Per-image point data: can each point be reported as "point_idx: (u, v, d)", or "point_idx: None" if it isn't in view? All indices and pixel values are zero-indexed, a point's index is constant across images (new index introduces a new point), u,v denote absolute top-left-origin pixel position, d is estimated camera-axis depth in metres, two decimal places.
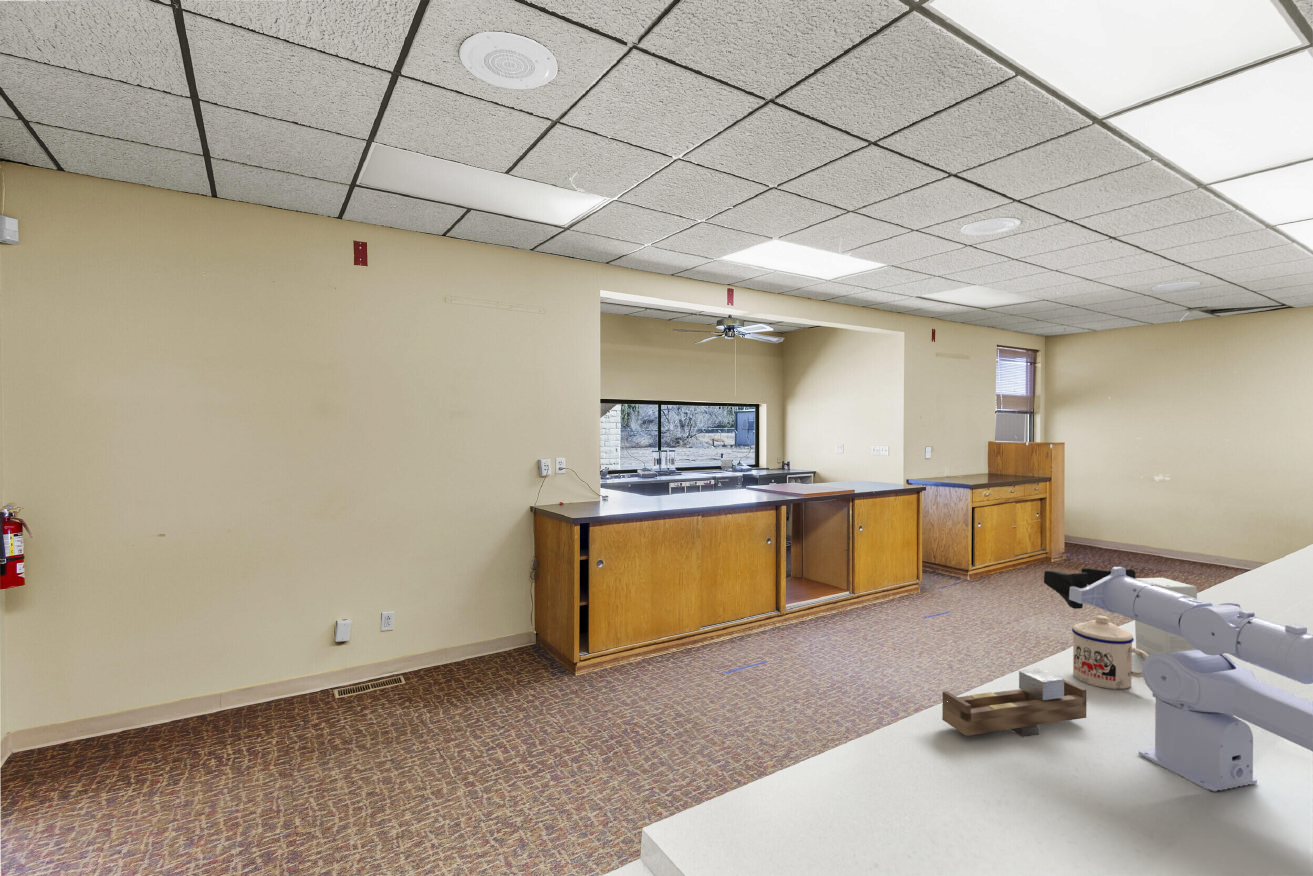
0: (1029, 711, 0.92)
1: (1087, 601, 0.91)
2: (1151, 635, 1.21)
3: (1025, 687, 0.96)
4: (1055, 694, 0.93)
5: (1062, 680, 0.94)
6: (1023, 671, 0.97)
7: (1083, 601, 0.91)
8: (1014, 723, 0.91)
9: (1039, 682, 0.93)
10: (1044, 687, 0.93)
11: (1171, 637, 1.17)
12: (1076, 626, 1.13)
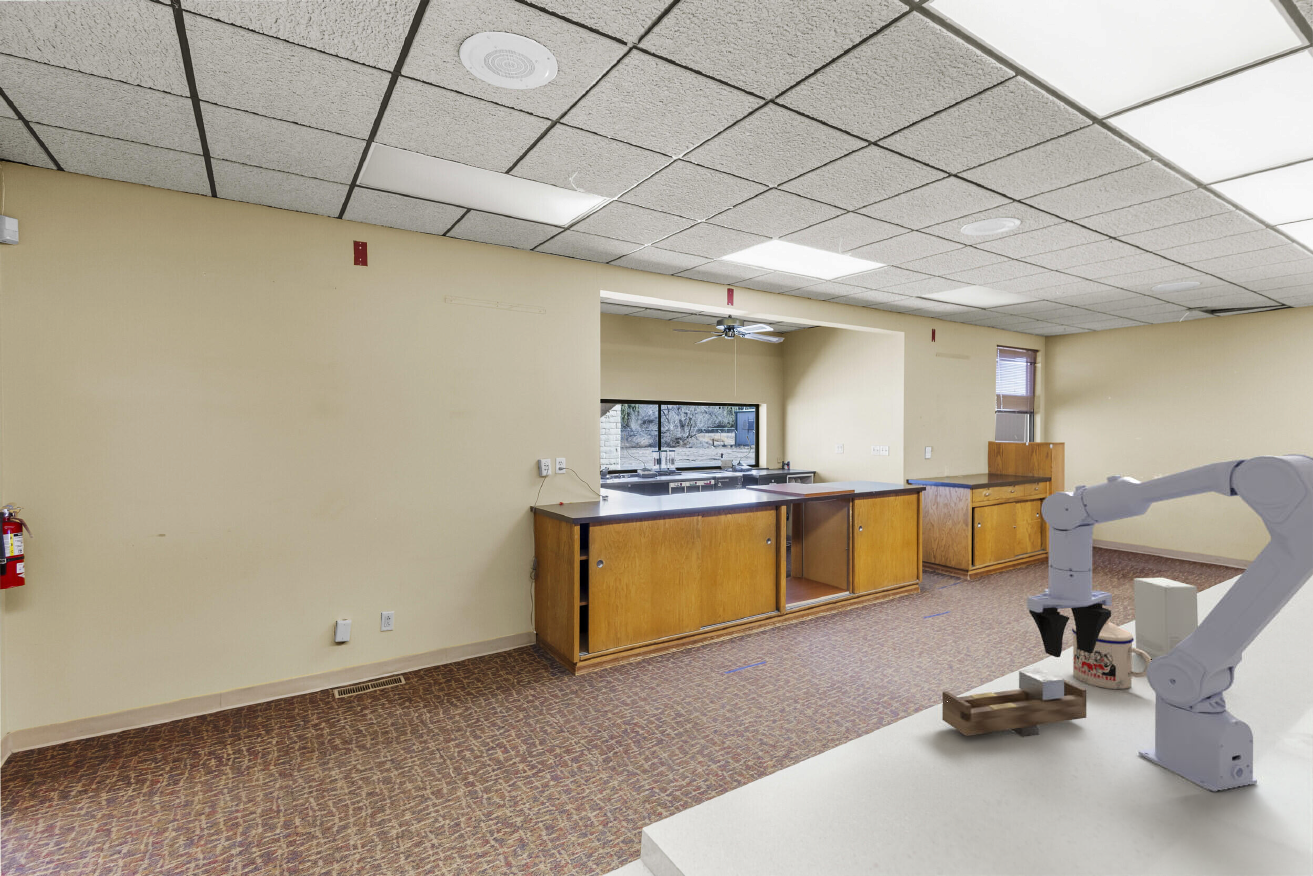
0: (1029, 711, 0.92)
1: None
2: (1151, 635, 1.21)
3: (1025, 687, 0.96)
4: (1055, 694, 0.93)
5: (1062, 680, 0.94)
6: (1023, 671, 0.97)
7: None
8: (1014, 723, 0.91)
9: (1039, 682, 0.93)
10: (1044, 687, 0.93)
11: (1171, 637, 1.17)
12: None
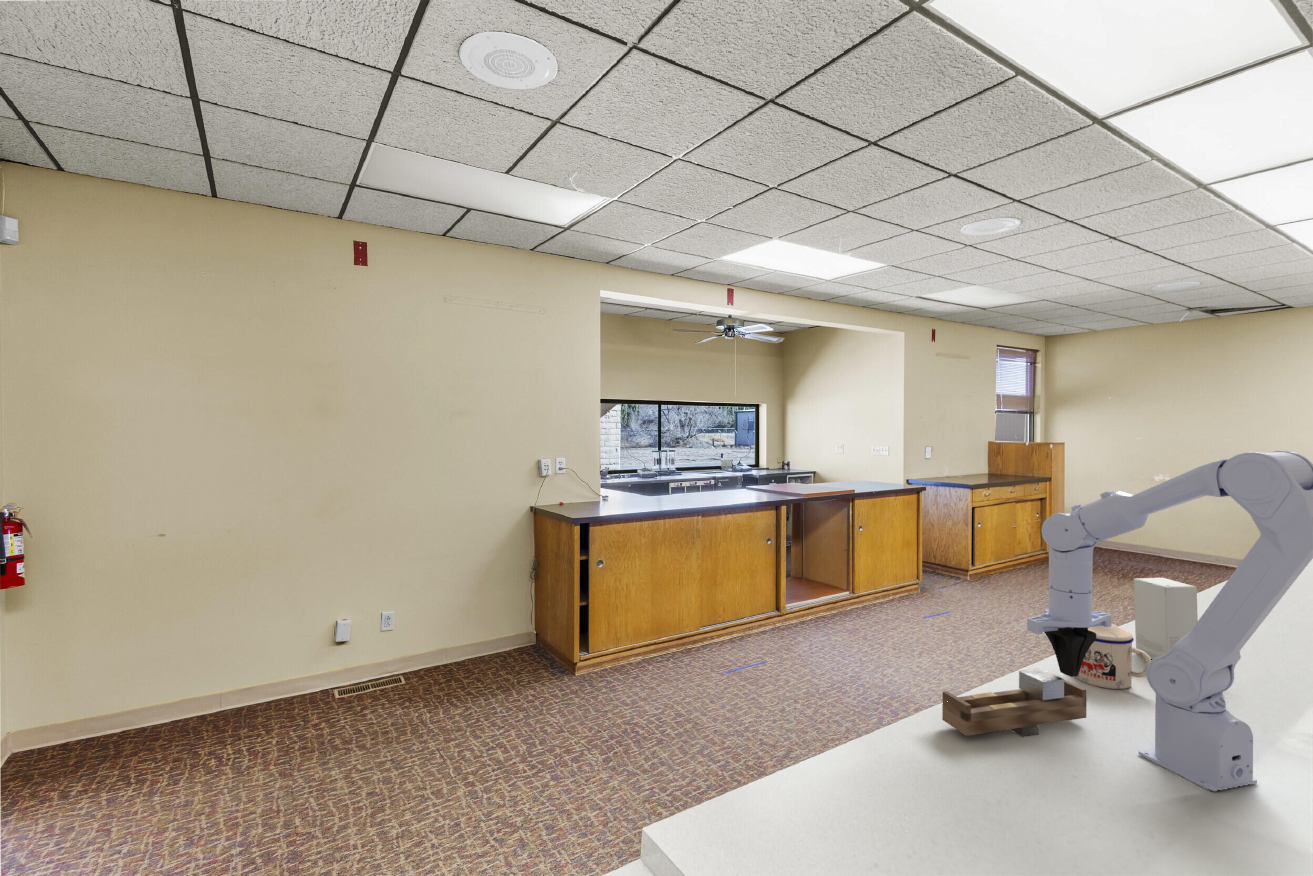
0: (1029, 711, 0.92)
1: None
2: (1151, 635, 1.21)
3: (1025, 687, 0.96)
4: (1055, 694, 0.93)
5: (1062, 680, 0.94)
6: (1023, 671, 0.97)
7: None
8: (1014, 723, 0.91)
9: (1039, 682, 0.93)
10: (1044, 687, 0.93)
11: (1170, 637, 1.17)
12: None
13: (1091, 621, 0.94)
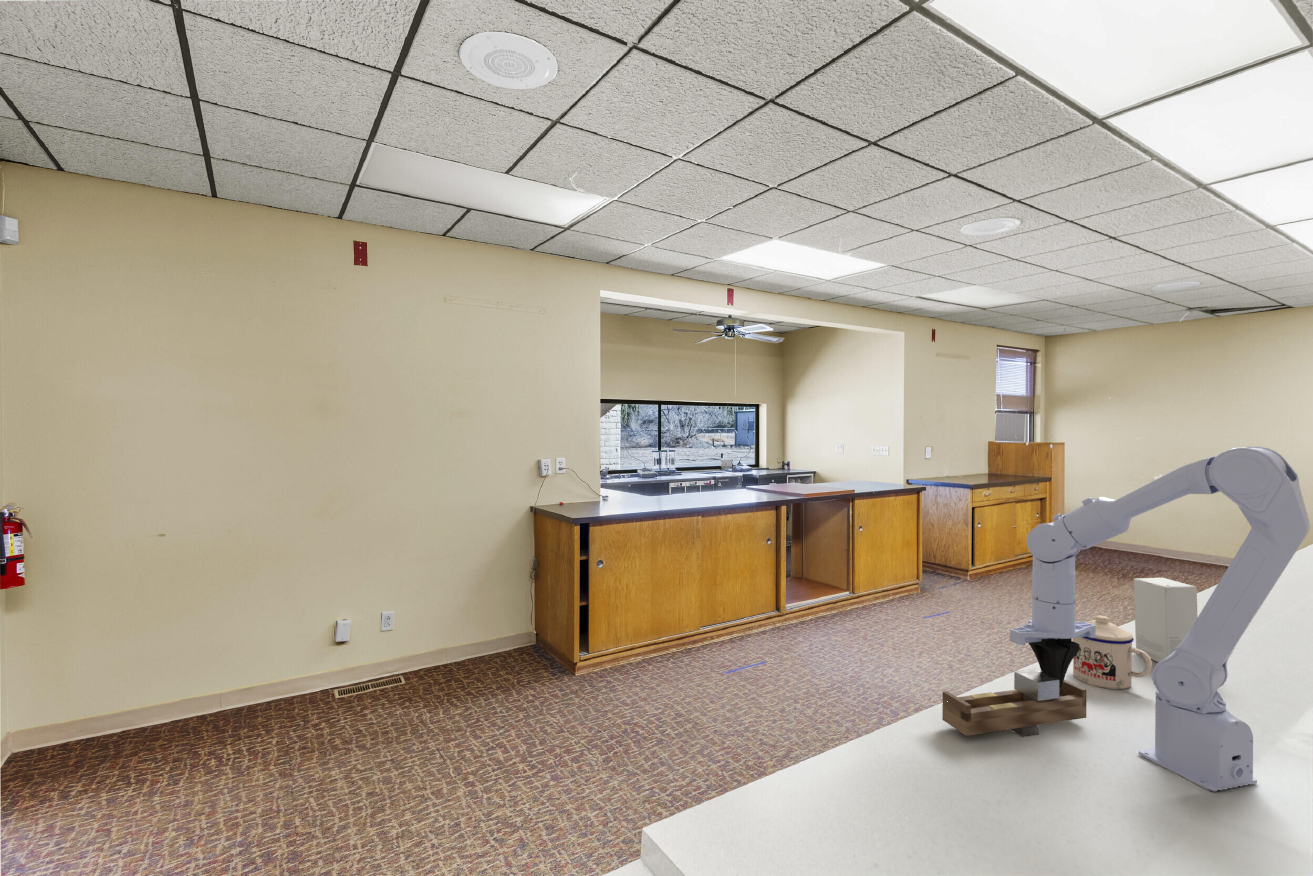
0: (1029, 711, 0.92)
1: None
2: (1151, 635, 1.21)
3: (1020, 688, 0.96)
4: (1050, 694, 0.93)
5: (1057, 681, 0.93)
6: (1018, 672, 0.96)
7: None
8: (1014, 723, 0.91)
9: (1034, 683, 0.93)
10: (1039, 688, 0.93)
11: (1170, 637, 1.17)
12: None
13: (1074, 632, 0.93)
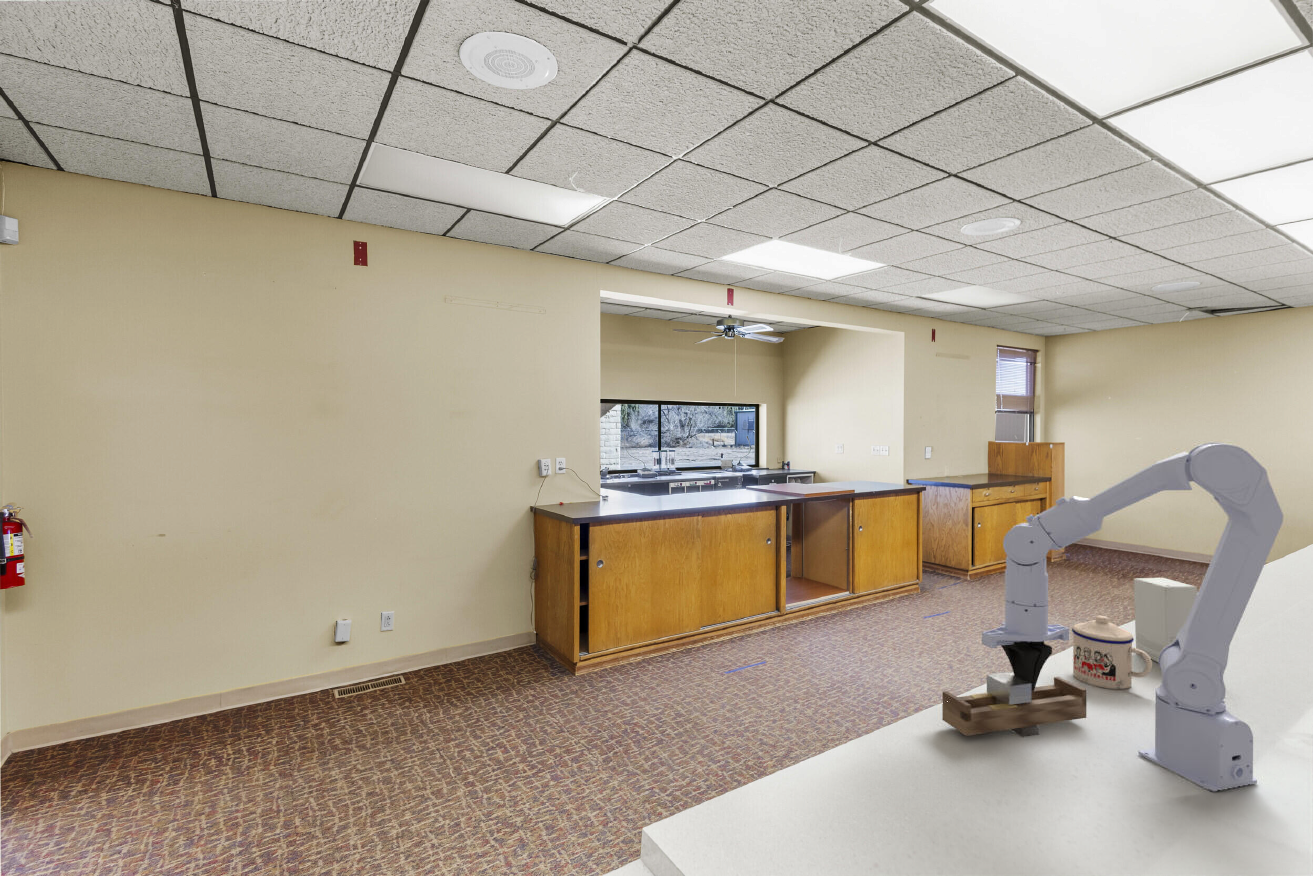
0: (1029, 711, 0.92)
1: None
2: (1151, 635, 1.21)
3: (992, 691, 0.94)
4: (1022, 698, 0.92)
5: (1029, 684, 0.92)
6: (991, 675, 0.95)
7: None
8: (1014, 723, 0.91)
9: (1006, 687, 0.92)
10: (1011, 691, 0.91)
11: (1171, 637, 1.17)
12: (1076, 626, 1.13)
13: (1046, 635, 0.92)
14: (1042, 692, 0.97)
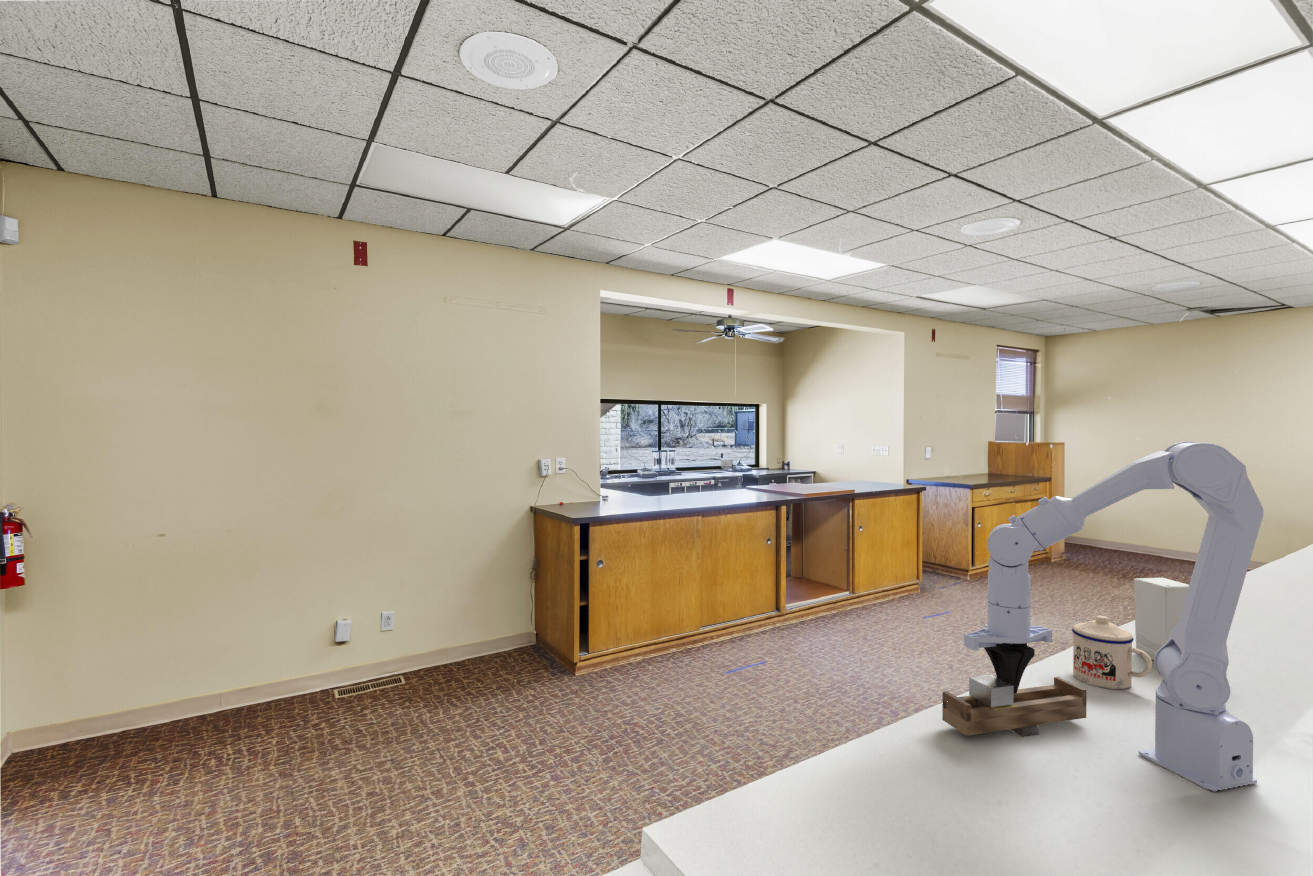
0: (1029, 711, 0.92)
1: None
2: (1151, 635, 1.21)
3: (975, 694, 0.93)
4: (1004, 701, 0.91)
5: (1011, 687, 0.91)
6: (973, 677, 0.94)
7: None
8: (1014, 723, 0.91)
9: (988, 689, 0.91)
10: (993, 694, 0.90)
11: None
12: (1076, 626, 1.13)
13: (1029, 637, 0.91)
14: (1042, 692, 0.97)
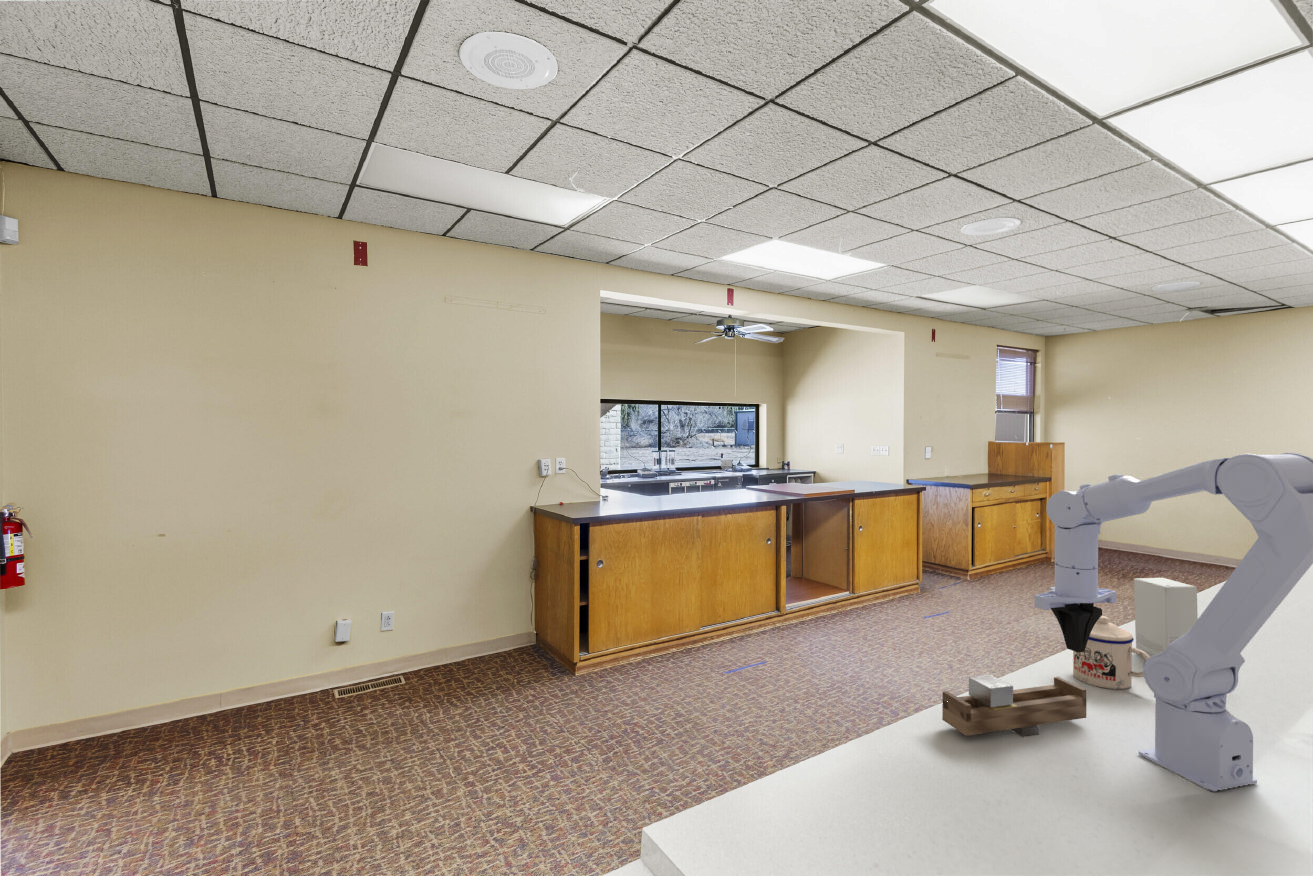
0: (1029, 711, 0.92)
1: None
2: (1151, 635, 1.21)
3: (974, 694, 0.93)
4: (1004, 701, 0.91)
5: (1011, 687, 0.91)
6: (973, 677, 0.94)
7: None
8: (1014, 723, 0.91)
9: (987, 689, 0.91)
10: (992, 694, 0.90)
11: (1171, 637, 1.17)
12: None
13: (1097, 597, 0.96)
14: (1042, 692, 0.97)
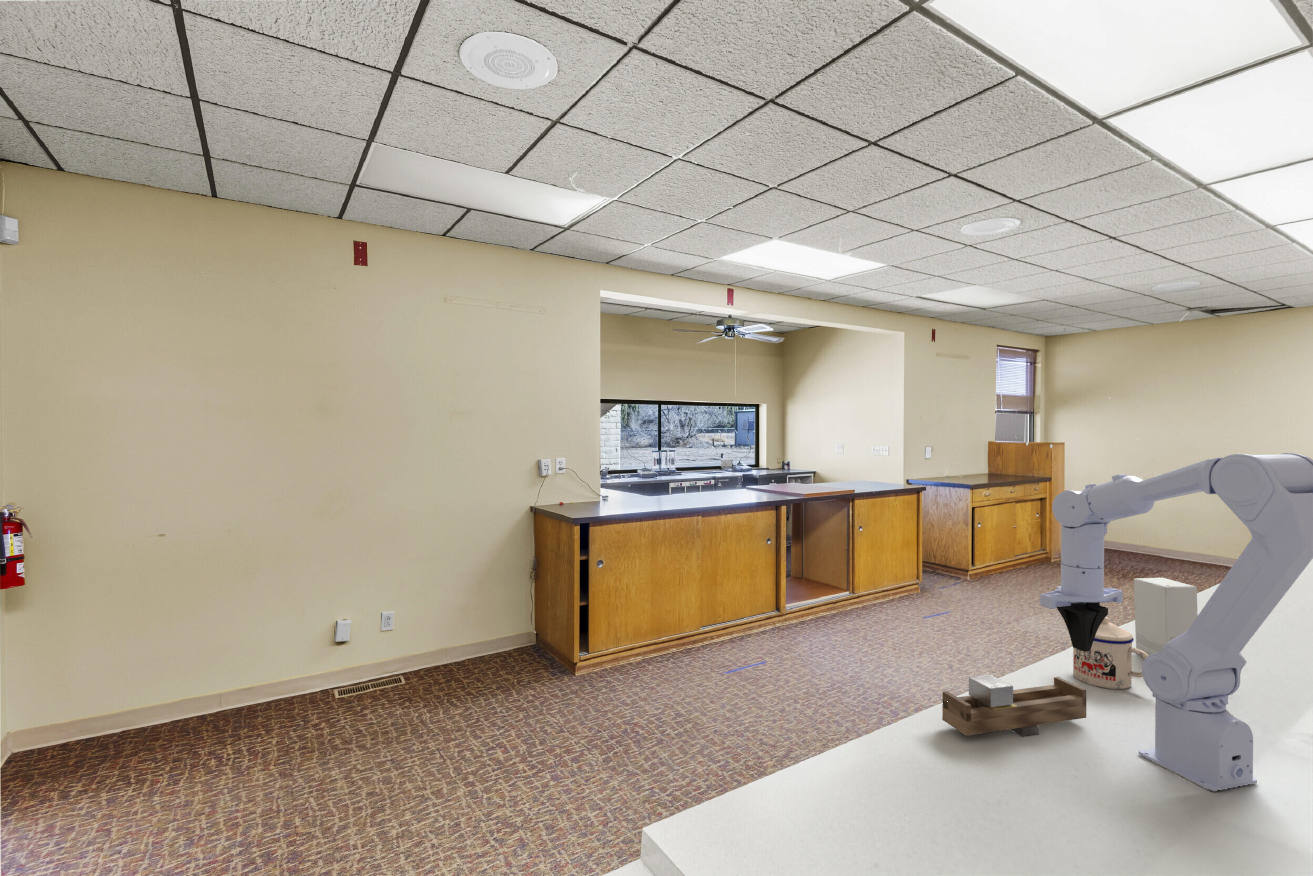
0: (1029, 711, 0.92)
1: None
2: (1151, 635, 1.21)
3: (974, 694, 0.93)
4: (1004, 701, 0.91)
5: (1011, 687, 0.91)
6: (973, 677, 0.94)
7: None
8: (1014, 723, 0.91)
9: (987, 689, 0.91)
10: (992, 694, 0.90)
11: (1171, 637, 1.17)
12: None
13: (1103, 596, 0.96)
14: (1042, 692, 0.97)
